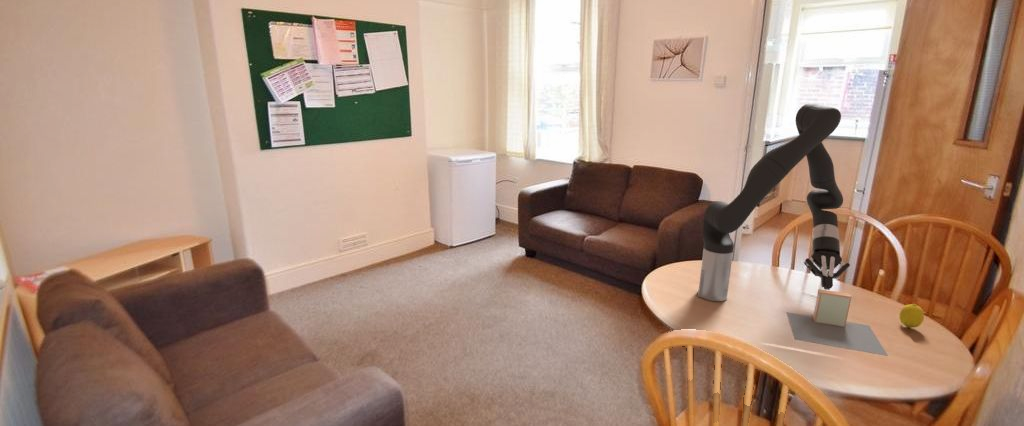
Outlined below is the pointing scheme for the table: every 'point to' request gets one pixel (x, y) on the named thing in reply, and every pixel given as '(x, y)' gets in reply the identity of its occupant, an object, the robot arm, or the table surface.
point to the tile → (832, 307)
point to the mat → (835, 334)
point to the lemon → (911, 315)
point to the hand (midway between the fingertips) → (827, 288)
